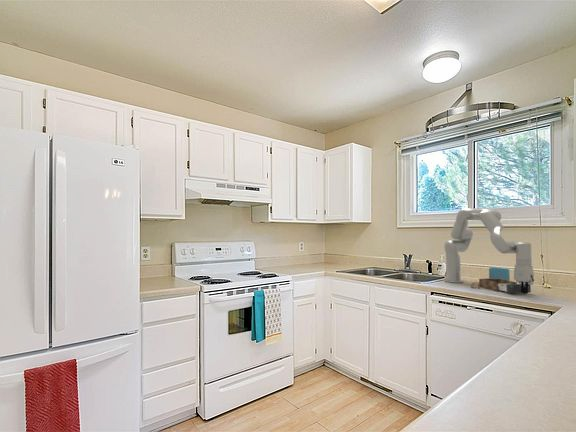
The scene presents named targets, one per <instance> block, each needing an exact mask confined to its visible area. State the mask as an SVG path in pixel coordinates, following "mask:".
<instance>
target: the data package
mask: <svg viewBox="0 0 576 432" xmlns="http://www.w3.org/2000/svg"><path fill="white" fill-rule="evenodd" d="M510 277H511V276H510V269H509V268H507V267H500V266H499V267H497V266H495V267H494V266H491V267H489V269H488V279H493V278H498V279H503V280H508V281H511V279H510Z"/></svg>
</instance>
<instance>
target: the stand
mask: <svg viewBox="0 0 576 432" xmlns="http://www.w3.org/2000/svg"><path fill="white" fill-rule="evenodd" d="M470 288H471V289H476V288H478V289H480V286H479V282H478V281H472V282H470Z"/></svg>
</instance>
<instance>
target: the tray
mask: <svg viewBox="0 0 576 432" xmlns="http://www.w3.org/2000/svg"><path fill="white" fill-rule="evenodd" d="M501 285H507V287H503V286H501ZM531 287H532V285H529V287H528V293H531V291H532V290H531ZM498 290H502V291H501V292H506V293H509V294H511V293H512V294H514V293H517V294H518V293H519V294H520V293H521V286H520V284H519V283H517V284H498ZM521 294H522V293H521Z"/></svg>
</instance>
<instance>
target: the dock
mask: <svg viewBox="0 0 576 432" xmlns="http://www.w3.org/2000/svg"><path fill="white" fill-rule="evenodd" d="M478 279H479V282H478V283H479V288H483V289H486V290H490V291H495V292H503V291H502V290H498V284H518V282H516V281H511V280H510V281H508V280H503V279H498V278H493V279H489V278H478Z"/></svg>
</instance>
